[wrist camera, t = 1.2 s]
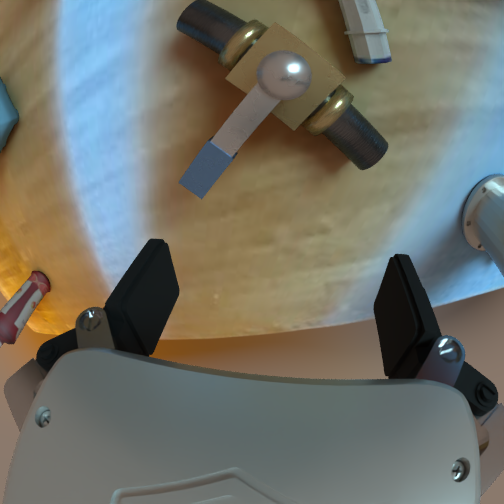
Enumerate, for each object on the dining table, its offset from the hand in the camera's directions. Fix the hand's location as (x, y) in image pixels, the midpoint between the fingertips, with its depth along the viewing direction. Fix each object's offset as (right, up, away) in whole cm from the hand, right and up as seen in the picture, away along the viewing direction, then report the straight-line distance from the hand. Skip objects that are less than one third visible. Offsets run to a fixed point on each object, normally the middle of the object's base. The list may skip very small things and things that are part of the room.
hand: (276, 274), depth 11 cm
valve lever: (-2, +12, +10) cm, 15 cm away
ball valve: (+3, +20, +14) cm, 24 cm away
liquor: (-53, -6, +42) cm, 68 cm away
